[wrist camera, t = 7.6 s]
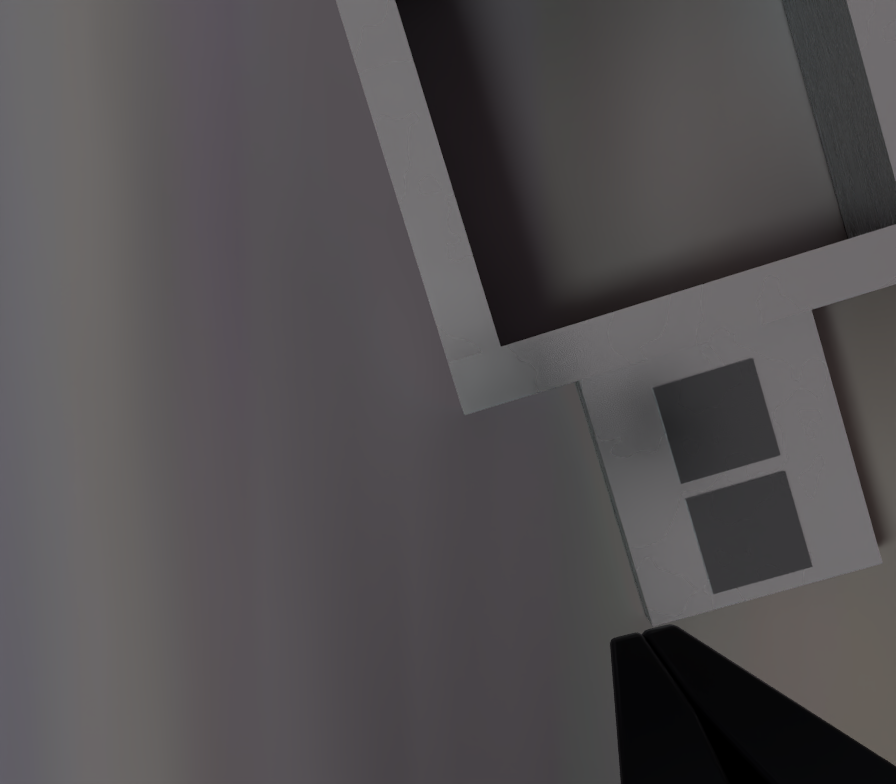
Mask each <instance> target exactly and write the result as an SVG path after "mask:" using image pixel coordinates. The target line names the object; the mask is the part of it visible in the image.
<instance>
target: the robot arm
mask: <svg viewBox="0 0 896 784" xmlns="http://www.w3.org/2000/svg"><path fill="white" fill-rule="evenodd" d="M610 649H611V662H612V675H613V688H614V701H615V713H616V726H617V739H618V752H619V765H620V778H621V784H896V766H894V765H893V764H891V763H890V762H888V761H887V760H885V759H884V758H882V757H880V756H879V755H877V754H876V753H874V752H873V751H871V750H869V749H868V748H866V747H865V746H863V745H862V744H860V743H859V742H857V741H855V740H854V739H852V738H851V737H849V736H848V735H846V734H844V733H843V732H841V731H840V730H838V729H837V728H835V727H834V726H832V725H830V724H829V723H827V722H826V721H824V720H823V719H821V718H820V717H818V716H816V715H815V714H813V713H812V712H810V711H809V710H807V709H805V708H804V707H802V706H801V705H799V704H798V703H796V702H795V701H793V700H791V699H790V698H788V697H787V696H785V695H784V694H782V693H780V692H779V691H777V690H776V689H774V688H773V687H771V686H770V685H768V684H766V683H765V682H763V681H762V680H760V679H759V678H757V677H756V676H754V675H752V674H751V673H749V672H748V671H746V670H745V669H743V668H741V667H740V666H738V665H737V664H735V663H734V662H732V661H731V660H729V659H727V658H726V657H724V656H723V655H721V654H720V653H718V652H717V651H715V650H713V649H712V648H710V647H709V646H707V645H706V644H704V643H702V642H701V641H699V640H698V639H696V638H695V637H693V636H692V635H690V634H688V633H687V632H685V631H684V630H682V629H681V628H679V627H677V626H675V625H671V624H669V625H664V626H660V627H656V628H652V629H648V630H646V631H644V632H643V634H640V633H632V634H628V635H624V636H620V637H616V638H613V639H612V640H611V642H610Z"/></svg>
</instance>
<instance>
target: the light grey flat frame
mask: <svg viewBox="0 0 896 784" xmlns="http://www.w3.org/2000/svg"><path fill="white" fill-rule="evenodd" d="M395 1H396V0H336V3H337V6H338V9H339V12H340V15H341V19H342V22H343V25H344V28H345V32H346V35H347V38H348V41H349V44H350V48H351V51H352V54H353V57H354V61H355V64H356V67H357V70H358V74H359V77H360V80H361V83H362V86H363V90H364V93H365V96H366V99H367V103H368V106H369V109H370V112H371V116H372V119H373V122H374V125H375V128H376V132H377V135H378V138H379V141H380V145H381V148H382V151H383V154H384V158H385V161H386V164H387V167H388V170H389V174H390V177H391V180H392V183H393V187H394V190H395V193H396V196H397V200H398V203H399V206H400V209H401V212H402V216H403V219H404V222H405V225H406V229H407V232H408V235H409V238H410V242H411V245H412V248H413V251H414V254H415V258H416V261H417V264H418V267H419V271H420V274H421V277H422V280H423V284H424V287H425V290H426V293H427V296H428V300H429V303H430V306H431V309H432V313H433V316H434V319H435V322H436V326H437V329H438V332H439V335H440V338H441V342H442V345H443V348H444V351H445V355H446V358H447V361H448V364H449V368H450V371H451V374H452V377H453V380H454V384H455V387H456V390H457V393H458V397H459V400H460V403H461V406H462V410H463V413H464V415H467V414H470V413H474V412H477V411H480V410H484V409H487V408H490V407H493V406H497V405H500V404H503V403H507V402H510V401H513V400H516V399H520V398H523V397H526V396H530V395H533V394H536V393H539V392H543V391H546V390H549V389H553V388H556V387H559V386H562V385H566V384H569V383H572V382H576V385H577V388H578V392H579V395H580V398H581V402H582V405H583V408H584V412H585V415H586V418H587V422H588V425H589V428H590V432H591V435H592V438H593V442H594V445H595V448H596V452H597V455H598V458H599V462H600V465H601V468H602V472H603V475H604V478H605V482H606V485H607V488H608V492H609V495H610V498H611V502H612V505H613V508H614V512H615V515H616V518H617V522H618V525H619V528H620V532H621V535H622V538H623V542H624V545H625V548H626V552H627V555H628V558H629V562H630V565H631V568H632V572H633V575H634V578H635V582H636V585H637V588H638V592H639V595H640V598H641V602H642V605H643V608H644V612H645V615H646V617H647V618H648V620H649V621H650V623H651V625H652V626H657V625H660V624H664V623H668V622H671V621H675V620H679V619H682V618H686V617H690V616H693V615H697V614H700V613H704V612H708V611H711V610H715V609H719V608H722V607H726V606H730V605H733V604H737V603H741V602H744V601H748V600H751V599H755V598H759V597H762V596H766V595H770V594H773V593H777V592H781V591H784V590H788V589H791V588H795V587H799V586H802V585H806V584H810V583H813V582H817V581H821V580H824V579H828V578H832V577H835V576H839V575H842V574H846V573H850V572H853V571H857V570H861V569H864V568H868V567H872V566H875V565H879V564H882V559H881V556H880V552H879V548H878V545H877V541H876V538H875V534H874V531H873V527H872V523H871V520H870V516H869V513H868V509H867V506H866V502H865V498H864V495H863V491H862V488H861V484H860V481H859V477H858V474H857V470H856V466H855V463H854V459H853V456H852V452H851V449H850V445H849V441H848V438H847V434H846V431H845V427H844V424H843V420H842V416H841V413H840V409H839V406H838V402H837V399H836V395H835V392H834V388H833V384H832V381H831V377H830V374H829V370H828V367H827V363H826V359H825V356H824V352H823V349H822V345H821V342H820V338H819V334H818V331H817V327H816V324H815V320H814V317H813V313H812V310H813V309H816V308H819V307H822V306H826V305H829V304H832V303H836V302H839V301H842V300H845V299H849V298H852V297H855V296H859V295H862V294H865V293H868V292H872V291H875V290H878V289H882V288H885V287H888V286H892V285H895V284H896V0H782V1H783V5H784V8H785V12H786V15H787V19H788V23H789V26H790V30H791V34H792V37H793V41H794V44H795V48H796V52H797V55H798V59H799V62H800V66H801V70H802V73H803V77H804V81H805V84H806V88H807V91H808V95H809V99H810V102H811V106H812V110H813V113H814V117H815V120H816V124H817V128H818V131H819V135H820V139H821V142H822V146H823V149H824V153H825V157H826V160H827V164H828V167H829V171H830V175H831V178H832V182H833V186H834V189H835V193H836V196H837V200H838V204H839V207H840V211H841V215H842V218H843V222H844V225H845V229H846V233H847V236H848V239H846V240H843V241H840V242H837V243H834V244H830V245H827V246H824V247H821V248H817V249H814V250H811V251H808V252H805V253H801V254H798V255H795V256H792V257H788V258H785V259H782V260H779V261H776V262H772V263H769V264H766V265H763V266H759V267H756V268H753V269H750V270H747V271H743V272H740V273H737V274H734V275H730V276H727V277H724V278H721V279H718V280H714V281H711V282H708V283H705V284H701V285H698V286H695V287H692V288H689V289H685V290H682V291H679V292H676V293H672V294H669V295H666V296H663V297H660V298H656V299H653V300H650V301H647V302H643V303H640V304H637V305H634V306H631V307H627V308H624V309H621V310H618V311H614V312H611V313H608V314H605V315H602V316H598V317H595V318H592V319H589V320H585V321H582V322H579V323H576V324H573V325H569V326H566V327H563V328H560V329H556V330H553V331H550V332H547V333H544V334H540V335H537V336H534V337H531V338H527V339H524V340H521V341H518V342H515V343H511V344H508V345H505V346H502V347H501V346H500V343H499V339H498V336H497V333H496V330H495V326H494V323H493V320H492V316H491V313H490V310H489V307H488V303H487V300H486V297H485V293H484V290H483V287H482V284H481V280H480V277H479V274H478V271H477V267H476V264H475V261H474V257H473V254H472V251H471V248H470V244H469V241H468V238H467V234H466V231H465V228H464V225H463V221H462V218H461V215H460V212H459V208H458V205H457V202H456V198H455V195H454V192H453V189H452V185H451V182H450V179H449V176H448V172H447V169H446V166H445V162H444V159H443V156H442V153H441V149H440V146H439V143H438V139H437V136H436V133H435V130H434V126H433V123H432V120H431V117H430V113H429V110H428V107H427V103H426V100H425V97H424V94H423V90H422V87H421V84H420V80H419V77H418V74H417V71H416V67H415V64H414V61H413V58H412V54H411V51H410V48H409V44H408V41H407V38H406V35H405V31H404V28H403V25H402V21H401V18H400V15H399V12H398V8H397V5H396V2H395Z"/></svg>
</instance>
